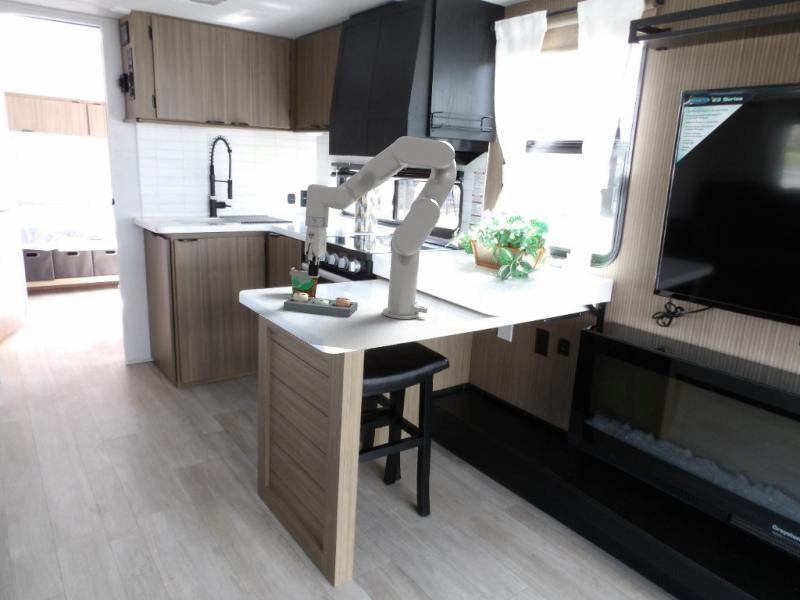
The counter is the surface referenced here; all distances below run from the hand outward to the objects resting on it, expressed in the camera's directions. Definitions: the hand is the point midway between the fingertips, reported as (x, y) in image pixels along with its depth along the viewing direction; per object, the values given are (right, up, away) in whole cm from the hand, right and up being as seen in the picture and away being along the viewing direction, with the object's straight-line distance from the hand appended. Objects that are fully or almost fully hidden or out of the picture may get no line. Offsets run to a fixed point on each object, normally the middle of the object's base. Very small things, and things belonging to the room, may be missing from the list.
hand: (313, 275), depth 192 cm
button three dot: (+10, -11, +1) cm, 15 cm away
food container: (-8, -7, +19) cm, 22 cm away
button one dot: (+2, -12, +2) cm, 12 cm away
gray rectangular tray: (+2, -12, +2) cm, 12 cm away
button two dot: (-5, -9, +3) cm, 11 cm away
